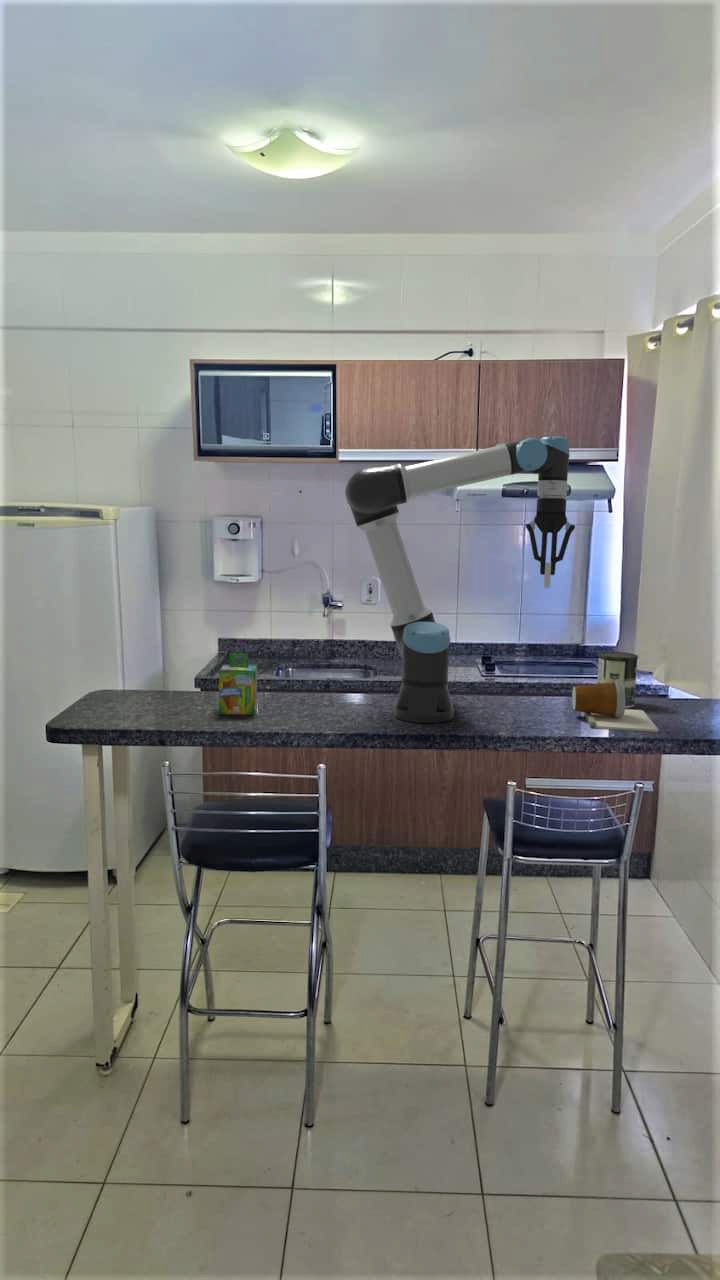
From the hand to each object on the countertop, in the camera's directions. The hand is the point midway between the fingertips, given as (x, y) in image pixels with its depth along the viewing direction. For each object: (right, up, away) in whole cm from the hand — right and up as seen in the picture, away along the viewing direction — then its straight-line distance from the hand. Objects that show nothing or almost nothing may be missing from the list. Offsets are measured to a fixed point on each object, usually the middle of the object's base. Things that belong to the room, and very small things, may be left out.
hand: (546, 587), depth 213 cm
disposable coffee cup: (+5, -29, -8) cm, 31 cm away
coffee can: (+21, -32, +8) cm, 39 cm away
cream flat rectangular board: (+16, -34, -9) cm, 39 cm away
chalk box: (-81, -33, -8) cm, 88 cm away
